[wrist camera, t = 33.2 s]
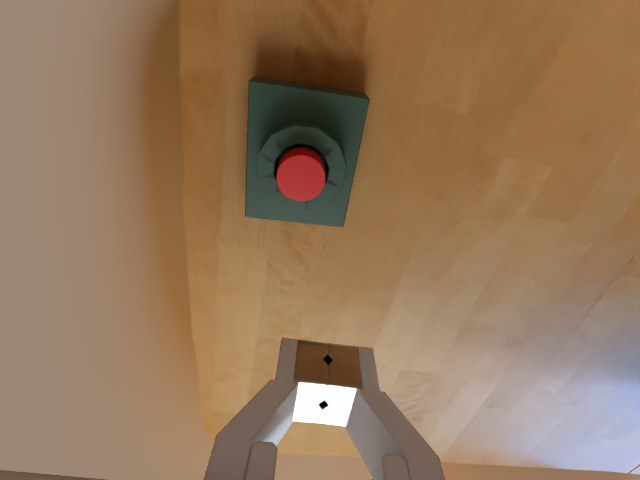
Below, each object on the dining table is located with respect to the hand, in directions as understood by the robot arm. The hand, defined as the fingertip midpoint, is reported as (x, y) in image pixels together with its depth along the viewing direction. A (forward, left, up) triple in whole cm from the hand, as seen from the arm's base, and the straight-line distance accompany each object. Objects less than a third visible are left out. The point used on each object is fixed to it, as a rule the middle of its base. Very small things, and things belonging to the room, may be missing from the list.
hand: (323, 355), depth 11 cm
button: (-1, -1, -15) cm, 15 cm away
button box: (-1, -1, -19) cm, 19 cm away
